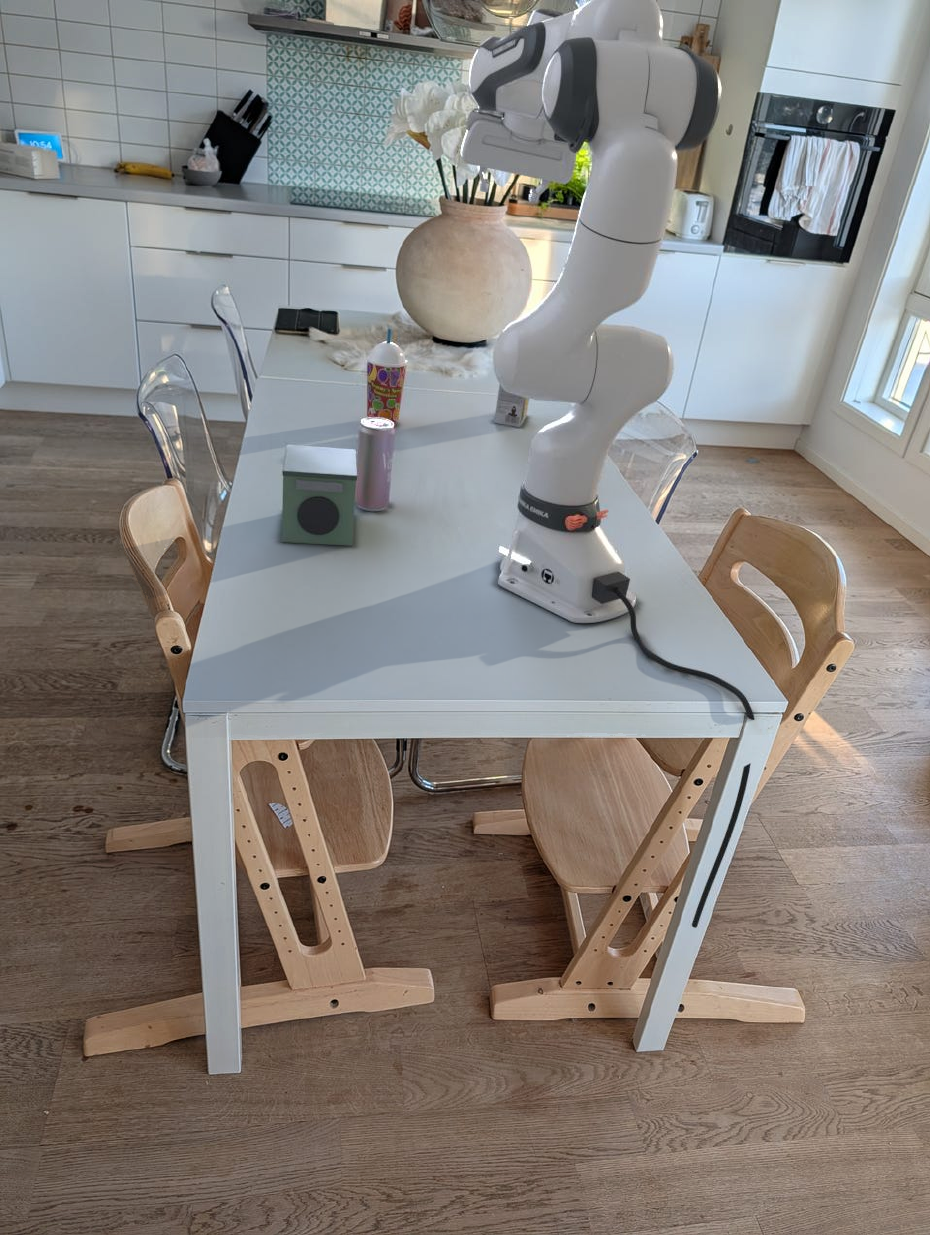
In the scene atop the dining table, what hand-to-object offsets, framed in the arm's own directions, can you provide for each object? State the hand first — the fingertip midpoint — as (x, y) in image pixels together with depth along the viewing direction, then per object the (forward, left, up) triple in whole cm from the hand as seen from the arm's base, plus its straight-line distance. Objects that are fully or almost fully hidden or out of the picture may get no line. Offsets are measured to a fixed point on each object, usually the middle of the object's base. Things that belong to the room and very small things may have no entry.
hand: (508, 195), depth 167 cm
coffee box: (+11, -19, -48) cm, 53 cm away
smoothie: (+19, +11, -48) cm, 53 cm away
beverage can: (-16, +37, -48) cm, 63 cm away
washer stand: (-20, +50, -48) cm, 72 cm away
